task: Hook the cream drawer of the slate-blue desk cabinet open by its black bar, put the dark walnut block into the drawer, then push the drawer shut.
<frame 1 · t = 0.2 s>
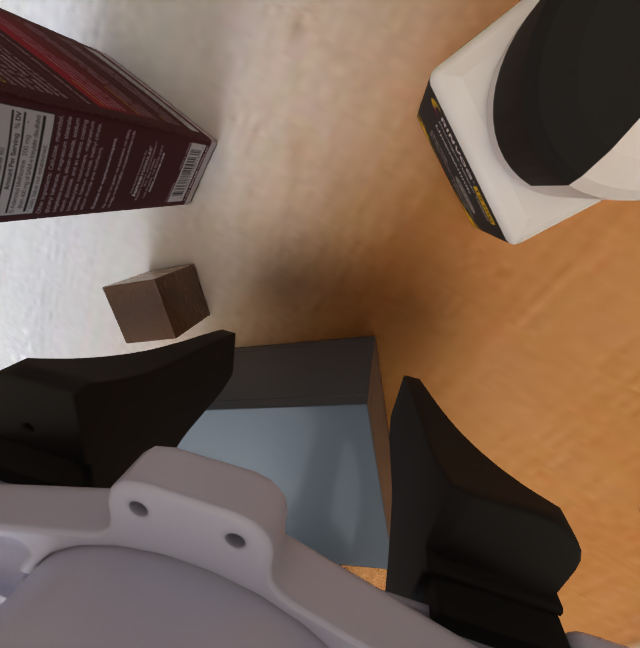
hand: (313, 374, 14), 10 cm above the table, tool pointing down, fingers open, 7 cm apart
supplement box: (153, 136, 21), on the table
block: (179, 293, 25), on the table
cabinet: (307, 409, 27), on the table
medicine bottle: (508, 132, 17), on the table
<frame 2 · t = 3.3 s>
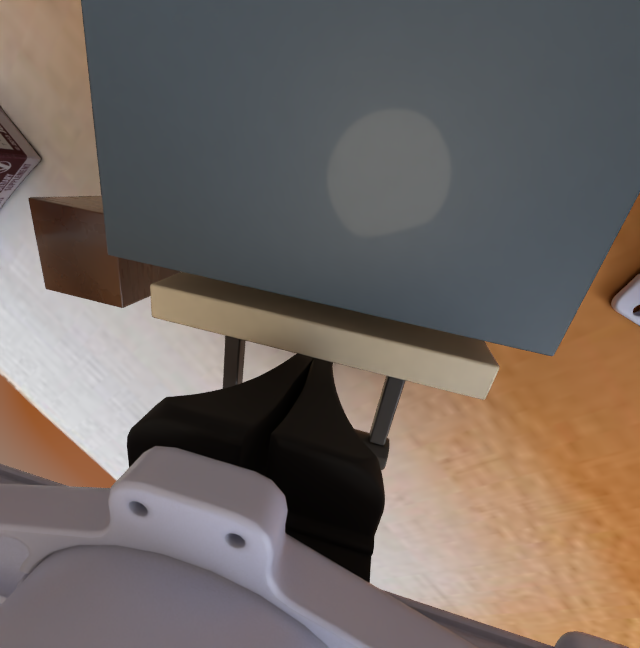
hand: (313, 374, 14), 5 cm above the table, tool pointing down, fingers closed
drawer: (341, 236, 12), point 4 cm above the table, slide at 1.0 cm
block: (147, 240, 18), on the table
cabinet: (379, 97, 13), on the table
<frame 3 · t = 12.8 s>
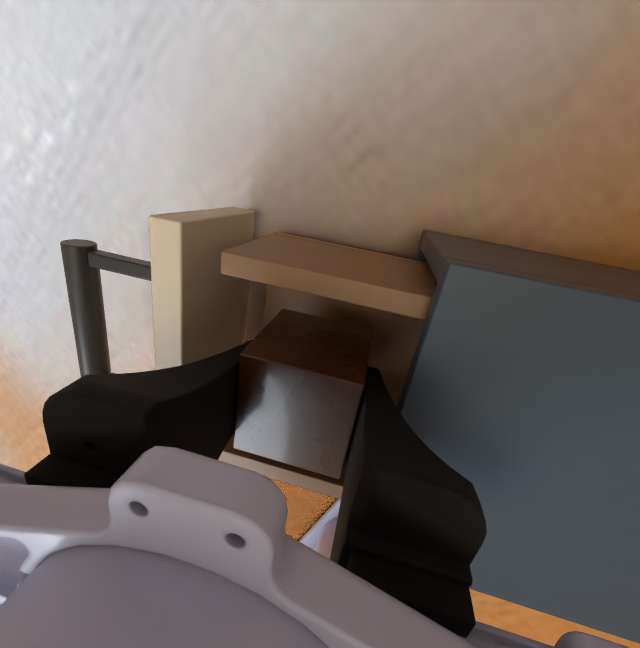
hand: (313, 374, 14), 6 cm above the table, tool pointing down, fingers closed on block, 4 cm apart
drawer: (263, 344, 15), point 4 cm above the table, slide at 8.2 cm
block: (319, 357, 15), point 4 cm above the table, touching gripper
cabinet: (508, 367, 17), on the table
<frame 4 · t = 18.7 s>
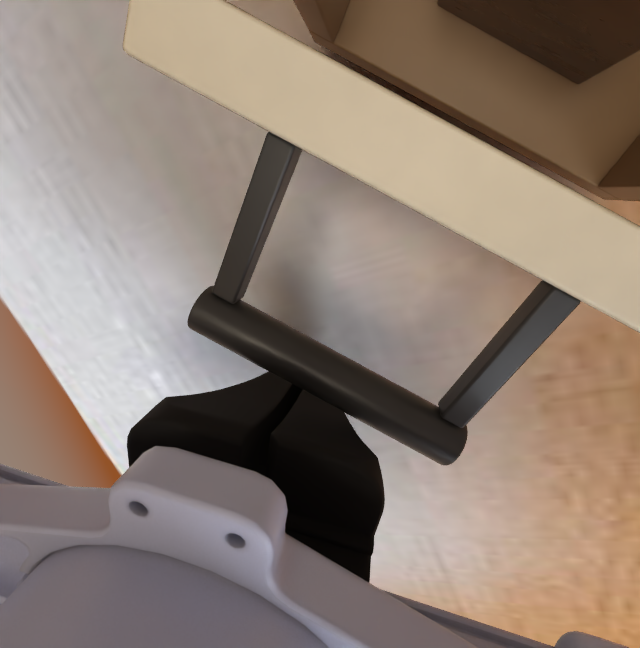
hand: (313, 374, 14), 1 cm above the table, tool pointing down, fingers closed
drawer: (512, 48, 6), point 4 cm above the table, slide at 6.6 cm, touching block
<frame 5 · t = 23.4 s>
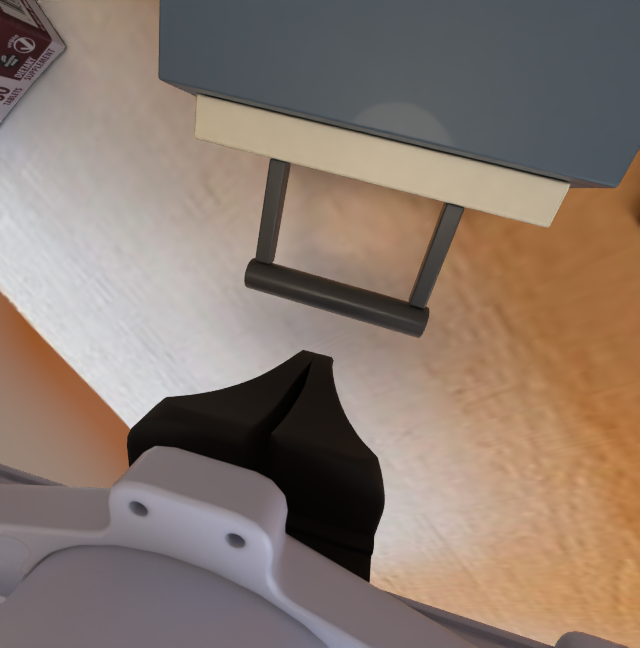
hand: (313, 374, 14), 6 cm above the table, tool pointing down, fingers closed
supplement box: (1, 59, 18), on the table
drawer: (397, 78, 11), point 4 cm above the table, slide at 0.0 cm, touching block
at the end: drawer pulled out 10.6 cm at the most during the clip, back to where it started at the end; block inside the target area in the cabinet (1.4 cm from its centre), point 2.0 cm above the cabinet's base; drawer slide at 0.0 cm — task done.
